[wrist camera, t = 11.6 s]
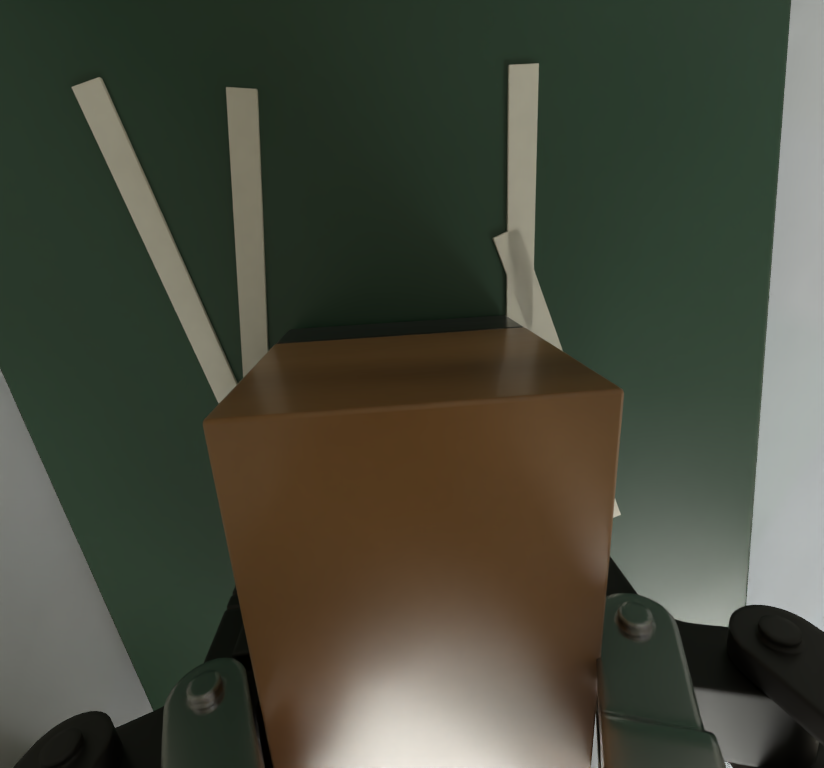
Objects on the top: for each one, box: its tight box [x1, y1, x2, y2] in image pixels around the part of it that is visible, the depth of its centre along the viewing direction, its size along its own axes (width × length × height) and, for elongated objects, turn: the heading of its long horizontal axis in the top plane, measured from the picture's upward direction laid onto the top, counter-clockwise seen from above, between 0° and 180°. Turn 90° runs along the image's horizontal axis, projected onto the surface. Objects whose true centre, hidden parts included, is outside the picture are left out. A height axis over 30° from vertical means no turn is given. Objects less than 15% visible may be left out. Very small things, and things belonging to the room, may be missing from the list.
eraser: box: [203, 315, 624, 768], centre depth 10 cm, size 11×5×6 cm, turn 3°
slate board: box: [0, 0, 791, 711], centre depth 12 cm, size 22×18×1 cm
